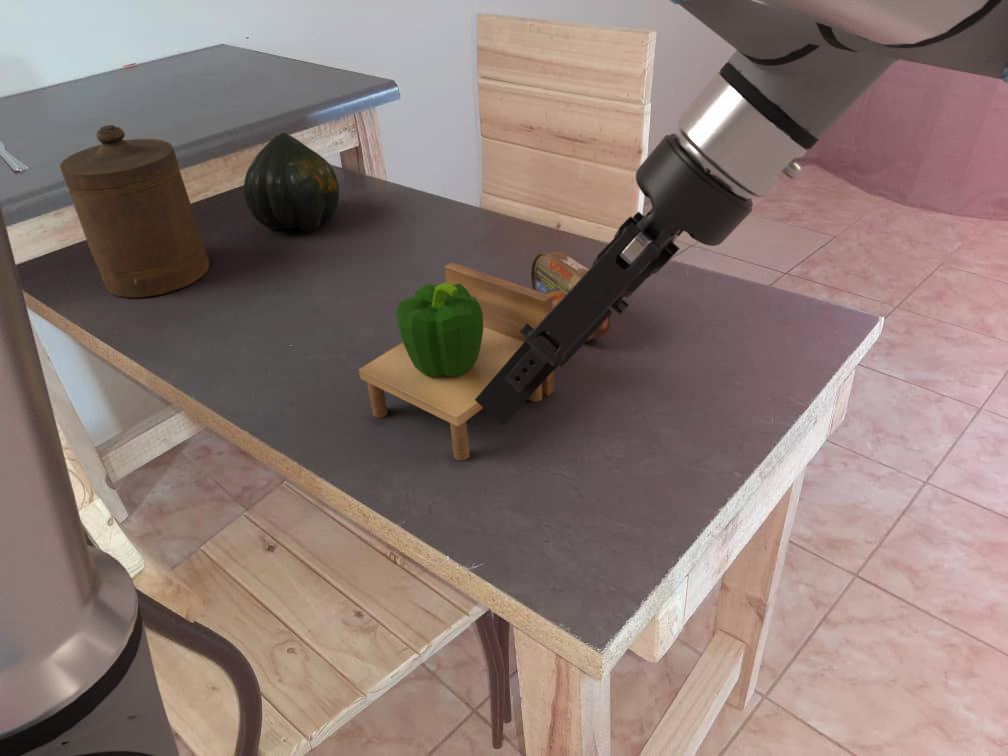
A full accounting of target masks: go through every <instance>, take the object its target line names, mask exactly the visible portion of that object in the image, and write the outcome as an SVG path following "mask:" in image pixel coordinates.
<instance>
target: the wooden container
mask: <svg viewBox="0 0 1008 756" xmlns="http://www.w3.org/2000/svg"><path fill="white" fill-rule="evenodd" d="M124 138H125V131H124V129H122V128H120V127H119V126H115V125H114V124H107V125H104V126H101V127H100V129H98V130H97V131H96V139H97V140H98V141H99V142H100V143H101V144H98V145H95V146H92V147H88V148H85V149H82V150H80V151H77V152H75V153H72V154H71V155H69V156H67V157H66V158H64V159H63V160H62V162H61V163H60V164H59V168H60V172H61V174H62V177H63V179H64V182H65V184H66V187H67V189H68V192H69V195H70V198H71V201H72V203H73V206H74V210H75V213H76V214H77V217H78V221H79V223H80V226H81V228H82V231H83V235H84V237H85V239H86V242H87V246H88V248H89V250H90V253H91V255H92V257H93V261H94V262H95V265H96V267H97V269H98V272H99V274H100V277H101V279H102V282H103V284H104V286H105V289H106V290H107V291H108V292H109V293H110V294H112V295H114V296H118V297H123V298H149V297H156V296H159V295H160V296H161V295H164V294H168V293H171V292H175V291H177V290H180V289H183V288H185V287H187V286H189V285H191V284H193V283H194V282H196V281H198V280H199V279H200V278H202V277H203V276H204V275H205V274H206V273H207V272H208V270H209V268H210V259H209V257H208V254H207V251H206V250H207V249H206V247H205V245H204V242H203V237H202V234H201V231H200V227H199V224H198V221H197V217H196V215H195V211H194V209H193V205H192V203H191V201H190V198H189V195H188V192H187V189H186V185H185V183H184V180H183V177H182V174H181V172H180V166H179V162H178V158H177V155H176V152H175V149H174V147H173V145H172V144H171V142H169V141H166V140H163V139H157V138H134V139H132V138H131V139H124Z"/></svg>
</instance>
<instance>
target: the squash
mask: <svg viewBox="0 0 1008 756" xmlns="http://www.w3.org/2000/svg"><path fill="white" fill-rule="evenodd" d="M243 198H244V200H245V203H246V206H247V208H248V209H249V211H250V213H251V215H252V216H253V218H254V219H255V220H256V221H257V222H258V223H260V224H261V225H262V226H264V227H265V228H268V229H273V230H283V229H286V228H288V229H294V228H296V227H297V226H298V227H299V229H301V230H302V231H305V232H313V231H315V230H316V229H318V227H319V226H320V225H324V224H326V223H328V222H329V221H331V220H332V219H333V217H334V215H335V214H336V211H337V208H338V205H339V201H340V184H339V181H338V178H337V174H336V172H335V169H334V168H333V167H332V165H331V164H330V163H329V161H327V160H326V158H324V157H323V156H321V155H320V154H319V153H318V152H316V151H315V150H313V149H311V148H310V147H308V146H307V145H305V144H304V143H302V142H301V141H300V140H298V139H297V138H296V137H294V136H292V135H290V134H288V133H287V132H283V131H282V132H281V133H280V134H278V135H275V136H274V137H273V138H272V139H271V140H270V141H269V142H267V144H266V145H265V146H264V147H263V148H262V149H260V151H259V152H258V153H257V154H256V156H255V157H254V158H253V160H252V162H251V163H250V165H249V166H248V169H247V170H246V173H245V177H244V183H243Z"/></svg>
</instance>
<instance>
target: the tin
mask: <svg viewBox="0 0 1008 756" xmlns="http://www.w3.org/2000/svg"><path fill="white" fill-rule="evenodd" d="M589 270H590V268H588V267H587V266H586V265H584V264H582V263H581V262H579V261H578V260H577V259H574V257H571V256H570V255H569V254H567V253H565V252H564V251H561V250H554V251H550V252H541V253H539V254H537V255H536V256H535V257H534V258H533V261H532V263H531V271H530V278H531V279H530V280H531V281H530V282H531V289H532V290H535V291H538V292H541V293H544V294H547V295H550V296H552V309H553V308H554V307H555V306H556V305H557V304H558V303H559V302H560V301H561V300H562V299H563V298H564V297H565V295H566V294H567V293H568V292H569V291H570V290H571V289H572V288H573V287H574V286H575V285H576V284H577V282H578V281H579V280H580V279H581V278H582V277H583V276H584V275H585V274H586V273H587V272H588V271H589ZM609 309H610V310H611V311H612V307H611V306H610V307H609ZM611 321H612V313H611V314H610V315H609V316H608V317H607V319H606V320H605V321H604V322H603V323H602V324H601V325H600V326H599V327H598V328H597V330H596V331H595V332H594V333H593V334H592V335H591V336H590V337H589V338H588V339H587V340H586V342H585V343H587V342H589V341H590V340H595V339H597V338H600V337H602V336H604V335H605V334H606V333H608V331H609V330H610V327H611Z"/></svg>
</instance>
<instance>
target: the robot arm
mask: <svg viewBox="0 0 1008 756" xmlns="http://www.w3.org/2000/svg"><path fill="white" fill-rule="evenodd" d="M669 1H670V2H671V3H672V4H674V5H679V6H680V7H682V9H684V10H685V11H687V12H688V13H689V14H691V16H693V17H695V18H696V19H697V20H698V21H700V22H701V23H702V24H703V25H705V26H706V27H707V28H708V29H709V30H711V31H712V32H713V33H715V34H716V35H717V36H719V37H720V38H721V39H722V40H723V41H725V42H726V43H727V44H728V45H730V46H731V47H732V48H733V49H735V51H734V53H733V54H732V55H731V56H730V57H729V59H728V60H727V62H725V64H724V65H723V66H722V67H721V69H720V70H719V71H717V72H716V73H715V74H714V75H713V77H711V79H710V80H709V82H708V83H707V84H706V85H705V86H704V88H702V90H701V91H700V92H699V94H698V95H697V96H696V97H695V98H694V99H693V101H692V102H691V103H690V104H689V105H688V107H687V108H686V109H685V110H684V111H683V113H682V114H681V115H680V116H679V117H678V118H677V128H678V131H679V132H678V133H677V134H676V133H671V134H667V135H666V134H665V136H664V137H663V138H662V139H661V141H660V142H659V143H658V144H657V145H656V147H654V149H653V150H652V151H651V153H649V155H648V156H647V157H646V158H645V160H644V161H643V162H642V163H641V165H639V167H638V168H637V170H636V172H635V181H636V184H637V186H638V188H639V189H640V191H641V192H642V194H643V196H645V197H647V199H649V201H650V203H651V209H650V210H649V211H648V212H647V213H646V214H645V215H644V214H642V213H641V212H640V211H637V212H636V213H635V214H634V215H633V216H629V217H628V218H627V219H626V220H625V221H624V222H623V223H622V224H621V225H620V227H619V228H618V230H616V232H615V234H614V236H613V239H612V240H611V241H610V242H608V244H607V245H606V246H605V247H604V248H603V249H602V250H601V251H600V252H599V253H598V254H597V255H596V257H595V259H594V261H593V262H592V266H591V267H590V268H589V269H590V270H589V271H588V272H587V273H586V274H585V275H584V276H583V277H582V278H581V279H580V280H579V281H578V282H577V284H576V285H575V286H574V287H573V288H572V289H571V290H570V291H569V292H568V293H567V294H566V295H565V297H564V298H563V299H562V300H561V301H560V302H559V303H558V304H557V305H556V306H555V307H554V308H553V309H552V311H551V312H550V313H549V314H548V315H547V316H546V317H545V318H544V319H543V320H542V321H541V322H540V323H539V325H538V326H537V327H536V328H535V329H533V328H532V327H531V326H530V325H529V324H528V323H526V325H525V326H524V327H523V328H522V329H521V330H520V333H521V334H522V335H523V336H525V337H526V338H525V342H524V343H523V344H522V345H521V347H520V348H519V349H518V350H517V351H516V352H515V353H514V355H513V356H512V357H511V358H510V359H509V360H508V362H507V363H506V364H505V365H504V366H503V367H502V369H501V370H500V371H499V372H498V373H497V374H496V376H495V377H494V378H493V379H492V380H491V381H490V383H489V384H488V385H487V386H486V387H485V388H484V390H483V391H482V392H481V393H480V394H479V395H478V396H477V398H476V399H475V401H476V402H477V403H479V404H480V405H481V406H482V407H483V408H482V409H484V411H485V412H487V413H488V414H489V415H490V416H491V417H492V418H494V420H495V421H496V422H497V423H498V424H500V426H502V427H503V426H504V425H505V424H507V422H509V420H510V419H511V418H512V417H513V416H514V415H515V414H516V413H517V411H518V410H519V409H520V408H521V407H522V406H523V405H524V404H525V403H526V402H527V400H529V399H528V398H529V397H530V396H531V395H532V394H533V393H534V392H535V390H536V389H537V388H538V387H539V386H540V385H541V384H542V383H543V382H544V381H545V379H546V378H547V377H548V376H549V375H550V374H551V373H552V372H553V371H554V372H555V370H556V369H557V368H558V367H559V366H560V368H563V367H564V366H565V364H567V362H568V361H569V360H570V359H571V358H572V357H573V356H574V355H575V354H576V353H577V351H578V350H579V349H580V348H581V347H582V346H583V345H584V344H585V343H587V342H586V340H587V339H588V338H589V337H590V336H591V335H592V334H593V333H594V332H595V331H596V330H597V328H598V327H599V326H600V325H601V324H602V323H603V322H604V321H605V320H606V319H607V317H608V316H609V315H610V314H611V315H612V313H613V311H612V309H613V310H614V311H615V312H616V313H617V314H618V315H619V316H620V315H621V314H622V313H623V312H624V311H625V310H627V308H628V307H629V306H630V304H629V303H628V302H627V301H625V300H624V298H628V297H631V296H632V295H633V294H634V293H635V292H636V290H638V289H639V287H641V285H642V284H644V282H645V281H646V280H647V279H649V278H650V277H651V276H652V275H654V274H657V273H658V272H659V271H661V269H662V268H663V267H665V265H666V264H668V262H669V261H671V259H672V258H673V257H674V256H675V255H676V254H677V253H678V251H680V247H679V246H678V245H677V244H676V243H674V242H675V241H676V240H677V239H678V238H679V237H681V235H682V233H684V232H686V233H687V234H688V235H689V236H690V237H691V239H693V240H695V241H696V242H699V243H701V244H702V245H705V246H710V247H715V246H719V245H721V244H722V243H723V242H724V241H725V240H726V239H727V238H728V237H729V236H730V235H731V234H732V233H733V232H734V231H735V230H736V229H737V228H738V227H739V226H740V224H741V223H742V222H743V221H744V220H745V219H746V218H747V217H748V216H749V215H750V214H751V213H752V212H753V208H752V207H753V206H754V203H753V200H752V198H751V197H753V196H754V197H756V198H763V197H766V196H767V195H768V193H769V192H770V191H771V190H772V189H773V188H775V186H776V185H777V184H778V183H779V182H780V181H781V178H782V174H784V175H785V176H786V177H788V178H789V179H790V180H795V179H797V178H798V177H799V176H800V175H801V174H802V172H803V169H804V168H803V167H802V165H801V164H800V163H798V162H797V160H796V159H799V158H803V157H804V156H805V155H806V153H807V152H808V151H809V150H811V149H812V148H813V146H815V145H816V144H817V143H818V141H820V138H821V137H822V136H823V135H824V134H825V133H826V132H827V131H828V130H829V129H830V128H831V127H832V126H833V125H834V124H835V123H836V122H837V121H838V120H839V119H840V118H841V117H842V116H843V115H844V114H845V113H846V112H847V111H848V110H849V109H850V108H851V107H852V106H853V105H854V104H855V103H856V102H857V101H858V100H859V99H860V98H861V96H862V95H864V93H865V92H867V91H868V90H869V88H870V87H872V85H873V84H874V83H875V82H877V80H878V79H880V77H881V76H882V75H884V74H885V72H887V70H889V68H891V66H892V65H893V64H894V63H896V62H898V61H900V60H901V61H906V62H911V63H916V64H921V65H926V66H932V67H937V68H942V69H946V70H951V71H957V72H961V73H966V74H971V75H978V76H982V77H988V78H993V79H997V80H1001V81H1002V83H1007V84H1008V0H669ZM2 209H3V208H2V205H1V204H0V756H181V755H180V753H179V749H178V746H177V743H176V740H175V735H174V734H173V730H172V728H171V727H172V726H171V724H170V721H169V718H168V715H167V712H166V709H165V706H164V702H163V697H162V695H161V692H160V688H159V684H158V680H157V675H156V672H155V667H154V663H153V658H152V653H151V650H150V649H151V648H150V645H149V640H148V636H147V635H148V634H147V632H146V628H145V623H144V619H143V618H144V617H143V613H142V610H141V605H140V601H139V596H138V592H137V588H136V586H135V583H134V581H133V579H132V576H131V574H130V573H129V571H128V570H127V568H126V567H125V566H124V565H123V564H122V563H121V562H120V561H119V560H118V559H117V558H115V557H113V556H112V555H111V554H109V553H108V552H106V551H103V550H102V549H100V548H98V547H95V546H92V545H88V543H87V539H86V535H85V532H84V527H83V523H82V519H81V515H80V512H79V508H78V504H77V500H76V496H75V493H74V488H73V485H72V481H71V480H72V479H71V476H70V473H69V469H68V465H67V461H66V457H65V454H64V448H63V445H62V441H61V437H60V432H59V430H58V425H57V421H56V418H55V414H54V409H53V406H52V402H51V398H50V394H49V389H48V386H47V382H46V379H45V373H44V370H43V367H42V363H41V358H40V354H39V351H38V350H39V349H38V347H37V343H36V339H35V335H34V331H33V327H32V323H31V320H30V316H29V311H28V307H27V303H26V299H25V296H24V292H23V288H22V287H23V286H22V283H21V280H20V276H19V271H18V268H17V265H16V260H15V256H14V252H13V248H12V244H11V241H10V236H9V232H8V228H7V224H6V220H5V217H4V213H3V210H2ZM610 306H611V310H610V309H609V307H610ZM547 332H548V333H549V334H548V333H547Z"/></svg>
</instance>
